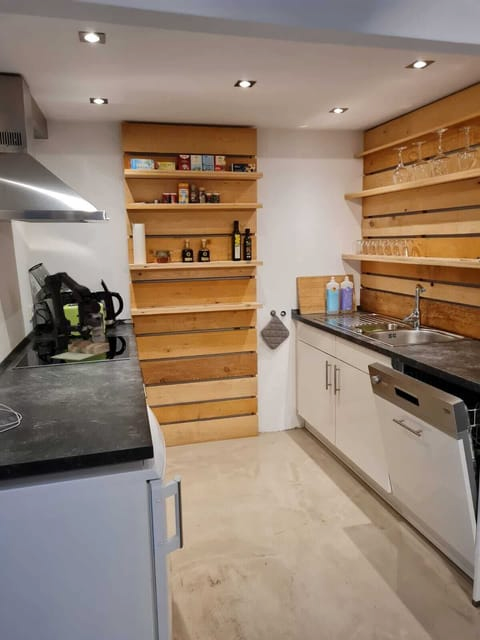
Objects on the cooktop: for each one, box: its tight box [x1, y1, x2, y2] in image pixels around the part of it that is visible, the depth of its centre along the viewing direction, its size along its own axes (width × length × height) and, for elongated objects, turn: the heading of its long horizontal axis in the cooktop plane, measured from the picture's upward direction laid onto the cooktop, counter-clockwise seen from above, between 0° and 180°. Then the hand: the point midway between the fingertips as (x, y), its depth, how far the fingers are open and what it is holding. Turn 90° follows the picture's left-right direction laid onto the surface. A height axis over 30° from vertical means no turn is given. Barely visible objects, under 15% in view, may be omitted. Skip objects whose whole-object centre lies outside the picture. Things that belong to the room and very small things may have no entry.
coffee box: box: [90, 311, 106, 343], centre depth 277 cm, size 9×6×16 cm
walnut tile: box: [71, 339, 91, 348], centre depth 244 cm, size 7×5×2 cm
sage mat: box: [50, 351, 96, 361], centre depth 239 cm, size 18×11×1 cm, turn 66°
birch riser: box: [67, 341, 110, 356], centre depth 249 cm, size 18×10×4 cm, turn 66°
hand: (86, 342), depth 248 cm, fingers closed
